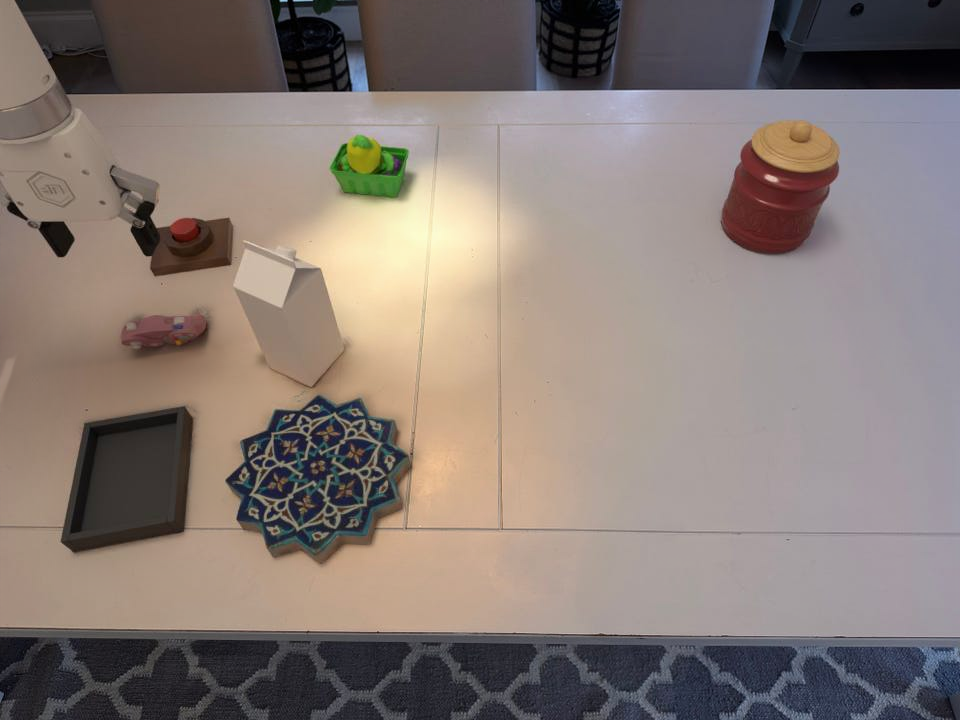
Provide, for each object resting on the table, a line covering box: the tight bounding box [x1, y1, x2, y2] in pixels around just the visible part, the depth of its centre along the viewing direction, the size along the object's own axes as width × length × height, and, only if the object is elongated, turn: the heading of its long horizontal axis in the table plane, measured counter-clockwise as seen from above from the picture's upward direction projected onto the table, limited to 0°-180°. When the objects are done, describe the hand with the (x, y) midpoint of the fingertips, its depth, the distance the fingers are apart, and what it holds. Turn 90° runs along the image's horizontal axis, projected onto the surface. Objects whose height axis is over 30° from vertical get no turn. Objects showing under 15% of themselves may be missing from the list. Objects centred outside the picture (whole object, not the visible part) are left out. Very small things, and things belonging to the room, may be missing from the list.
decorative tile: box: [225, 393, 412, 565], centre depth 76 cm, size 20×20×2 cm
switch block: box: [149, 217, 233, 277], centre depth 100 cm, size 11×9×4 cm
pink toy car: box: [120, 313, 207, 350], centre depth 88 cm, size 10×5×7 cm, turn 99°
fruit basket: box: [328, 134, 410, 198], centre depth 106 cm, size 11×9×11 cm
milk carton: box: [232, 239, 345, 388], centre depth 81 cm, size 7×7×19 cm
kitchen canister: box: [721, 119, 841, 255], centre depth 95 cm, size 13×13×18 cm
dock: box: [60, 405, 194, 553], centre depth 76 cm, size 12×15×3 cm
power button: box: [170, 217, 200, 243], centre depth 99 cm, size 4×4×2 cm
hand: (110, 248), depth 74 cm, fingers open, 9 cm apart
